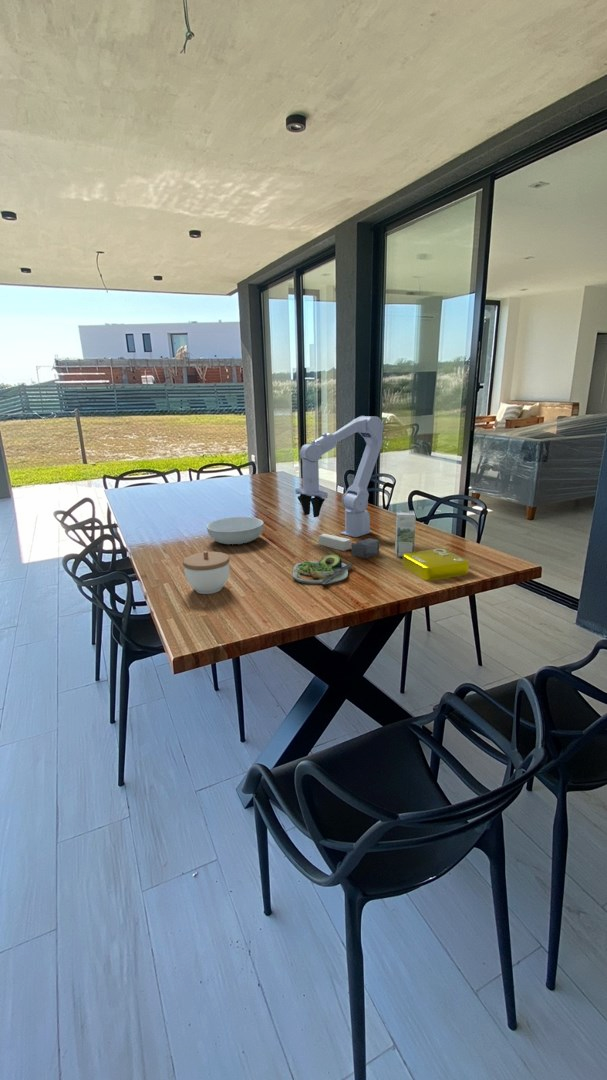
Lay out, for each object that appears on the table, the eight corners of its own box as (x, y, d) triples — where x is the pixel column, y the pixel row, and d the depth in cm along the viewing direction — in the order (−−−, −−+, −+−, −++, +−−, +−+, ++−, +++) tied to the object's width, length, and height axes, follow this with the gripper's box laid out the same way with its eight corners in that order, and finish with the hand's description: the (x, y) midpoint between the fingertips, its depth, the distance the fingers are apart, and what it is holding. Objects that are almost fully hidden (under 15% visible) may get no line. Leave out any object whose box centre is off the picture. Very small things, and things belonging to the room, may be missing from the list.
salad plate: (352, 589, 135) (352, 574, 134) (288, 589, 137) (287, 573, 136) (352, 566, 154) (352, 552, 153) (295, 566, 156) (295, 552, 154)
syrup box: (412, 552, 165) (413, 509, 161) (414, 557, 159) (415, 514, 155) (394, 552, 165) (395, 509, 161) (396, 557, 160) (397, 514, 156)
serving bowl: (202, 538, 188) (200, 521, 186) (253, 531, 196) (252, 514, 195) (216, 553, 170) (214, 534, 168) (272, 544, 178) (271, 525, 176)
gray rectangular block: (325, 542, 179) (325, 533, 178) (350, 549, 171) (350, 539, 170) (318, 545, 177) (318, 535, 176) (343, 551, 168) (343, 541, 167)
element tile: (399, 566, 153) (400, 552, 151) (441, 560, 157) (442, 546, 156) (426, 582, 139) (427, 566, 138) (471, 575, 143) (472, 559, 142)
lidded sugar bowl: (211, 578, 146) (208, 542, 143) (240, 587, 139) (238, 549, 135) (176, 591, 137) (172, 553, 134) (206, 601, 129) (202, 562, 126)
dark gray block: (365, 550, 168) (365, 537, 167) (379, 553, 164) (379, 540, 163) (351, 554, 164) (351, 541, 162) (365, 558, 159) (365, 545, 158)
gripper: (288, 478, 177) (290, 514, 181) (317, 482, 167) (318, 520, 171) (302, 475, 182) (303, 511, 186) (331, 479, 172) (332, 517, 175)
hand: (311, 515), depth 179 cm, fingers open, 4 cm apart
